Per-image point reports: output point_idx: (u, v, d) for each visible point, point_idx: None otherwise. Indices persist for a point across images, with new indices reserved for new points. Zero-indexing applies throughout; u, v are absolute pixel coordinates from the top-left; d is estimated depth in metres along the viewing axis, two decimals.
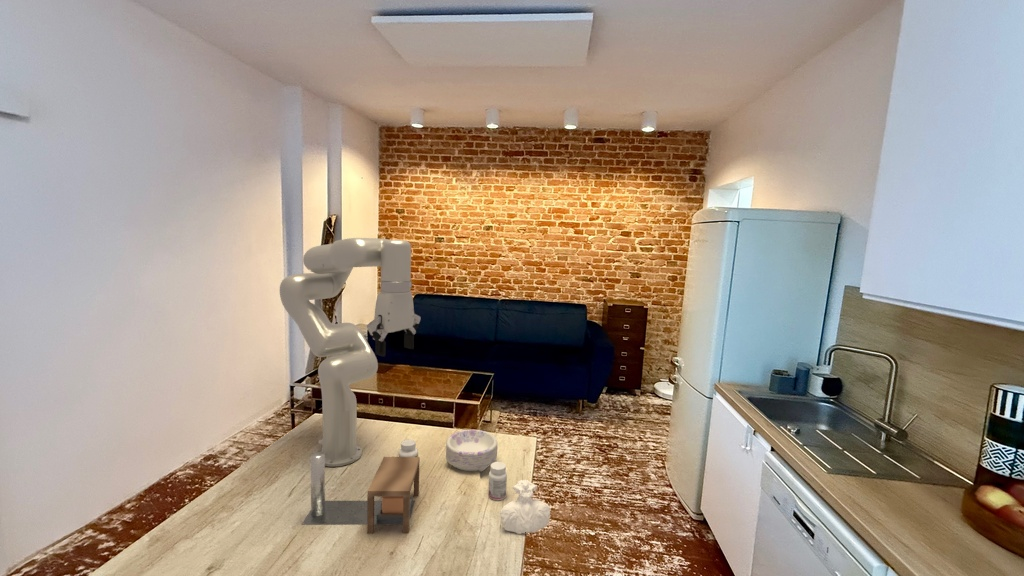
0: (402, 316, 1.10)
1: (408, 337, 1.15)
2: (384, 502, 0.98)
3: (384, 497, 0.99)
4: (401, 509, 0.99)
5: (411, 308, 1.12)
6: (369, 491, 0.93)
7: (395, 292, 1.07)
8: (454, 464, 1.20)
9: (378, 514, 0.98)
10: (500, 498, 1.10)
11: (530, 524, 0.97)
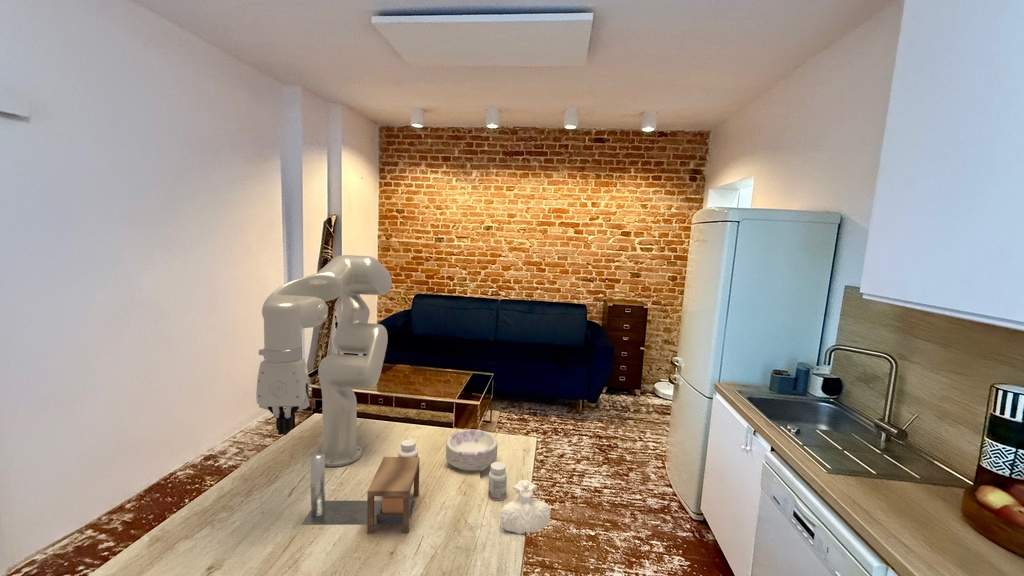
0: None
1: None
2: (384, 502, 0.98)
3: (384, 497, 0.99)
4: (401, 509, 0.99)
5: None
6: (369, 491, 0.93)
7: None
8: (454, 464, 1.20)
9: (378, 514, 0.98)
10: (500, 498, 1.10)
11: (530, 524, 0.97)
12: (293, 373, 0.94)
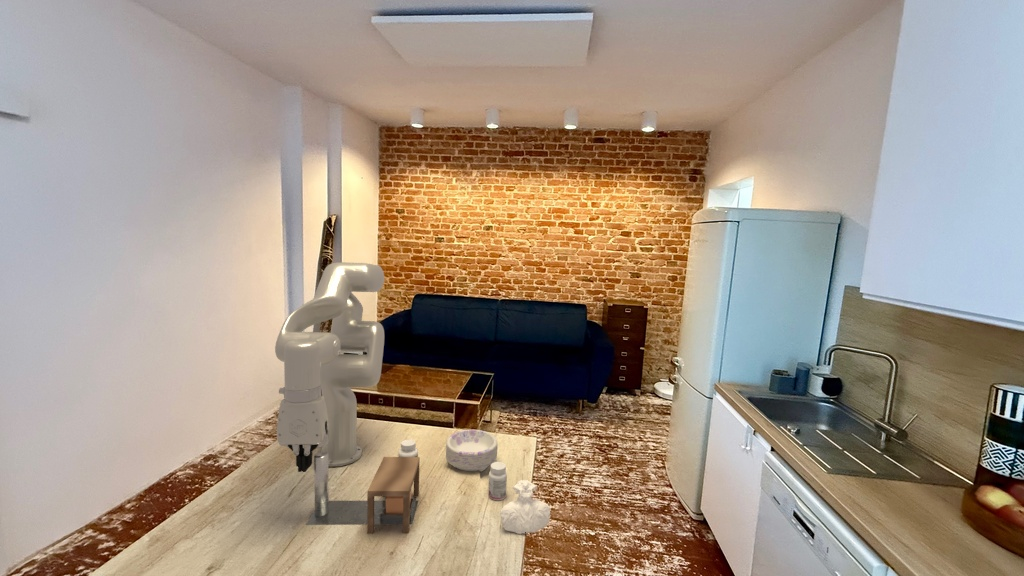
0: None
1: None
2: (388, 502, 0.99)
3: (387, 497, 0.99)
4: None
5: None
6: (369, 491, 0.93)
7: None
8: (454, 464, 1.20)
9: (382, 514, 0.98)
10: (500, 498, 1.10)
11: (530, 524, 0.97)
12: (313, 412, 0.95)
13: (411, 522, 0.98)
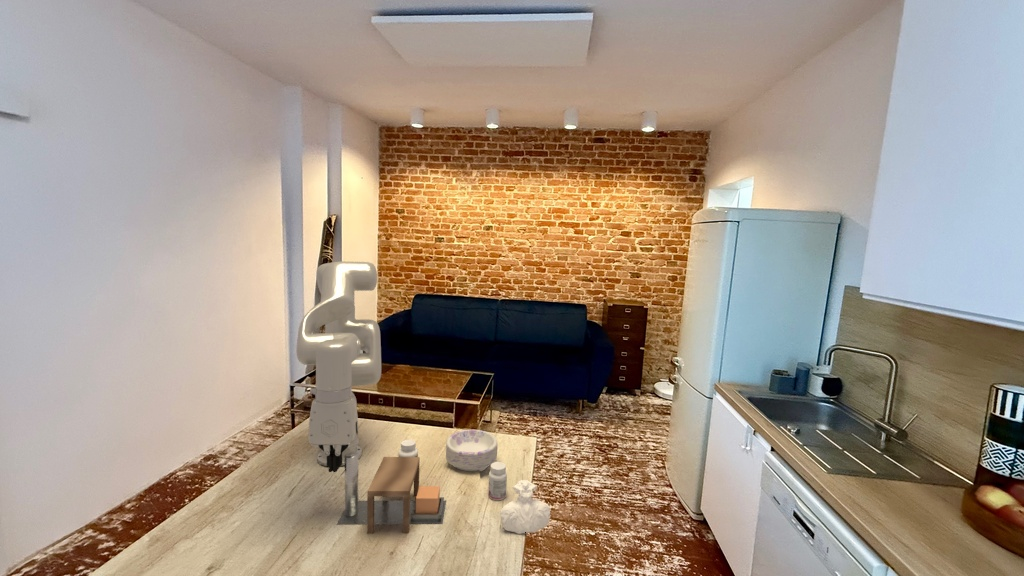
0: None
1: None
2: (418, 502, 0.99)
3: (417, 497, 0.99)
4: (435, 509, 0.99)
5: None
6: (369, 491, 0.93)
7: None
8: (454, 464, 1.20)
9: (412, 514, 0.99)
10: (500, 498, 1.10)
11: (530, 524, 0.97)
12: (344, 413, 0.96)
13: (441, 522, 0.98)
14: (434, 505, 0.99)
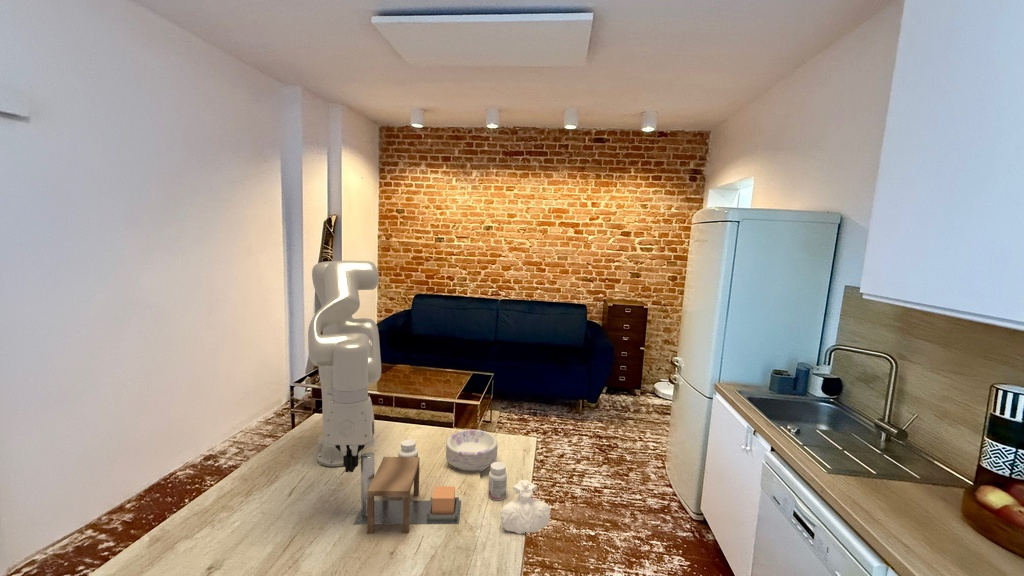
0: None
1: None
2: (434, 502, 0.99)
3: (434, 497, 0.99)
4: (451, 509, 1.00)
5: None
6: (369, 491, 0.93)
7: None
8: (454, 464, 1.20)
9: (428, 514, 0.99)
10: (500, 498, 1.10)
11: (530, 524, 0.97)
12: (361, 413, 0.96)
13: (457, 522, 0.99)
14: (450, 505, 1.00)
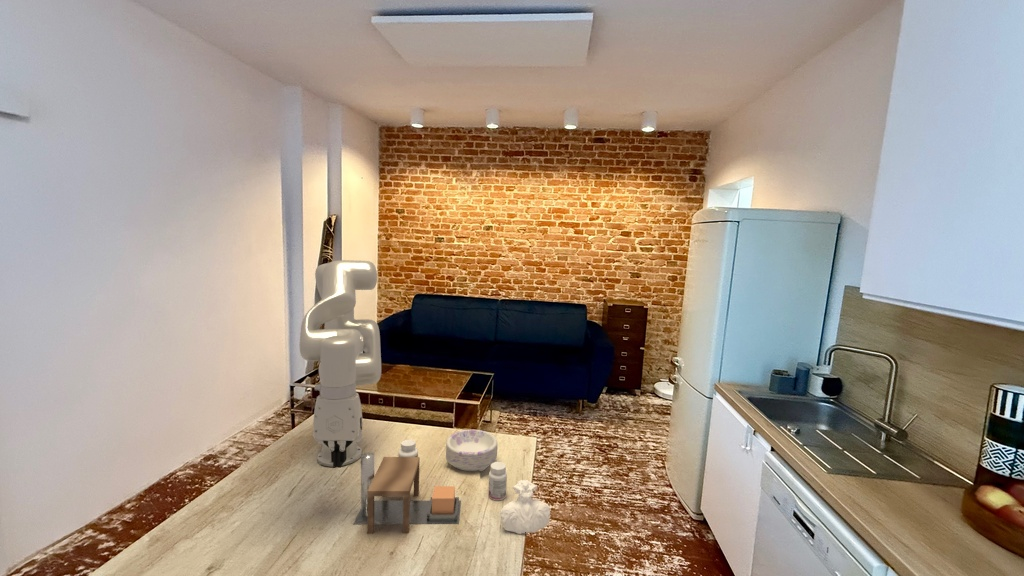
0: None
1: None
2: (434, 502, 0.99)
3: (434, 497, 0.99)
4: (451, 509, 1.00)
5: None
6: (369, 491, 0.93)
7: None
8: (454, 464, 1.20)
9: (428, 514, 0.99)
10: (500, 498, 1.10)
11: (530, 524, 0.97)
12: (349, 409, 0.96)
13: (457, 522, 0.99)
14: (450, 505, 1.00)
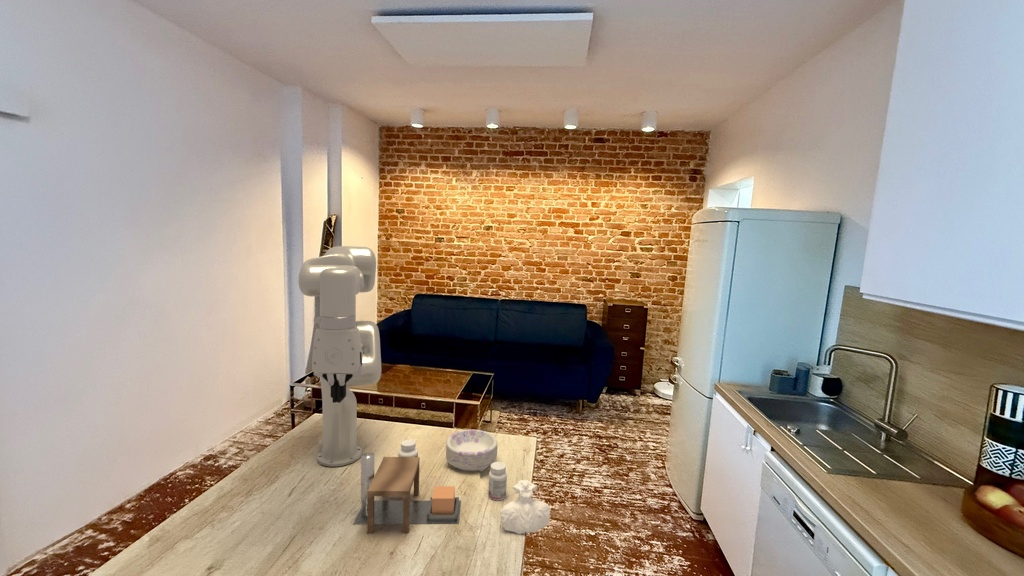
0: None
1: None
2: (434, 502, 0.99)
3: (434, 497, 0.99)
4: (451, 509, 1.00)
5: None
6: (369, 491, 0.93)
7: None
8: (454, 464, 1.20)
9: (428, 514, 0.99)
10: (500, 498, 1.10)
11: (530, 524, 0.97)
12: (349, 341, 0.94)
13: (457, 522, 0.99)
14: (450, 505, 1.00)
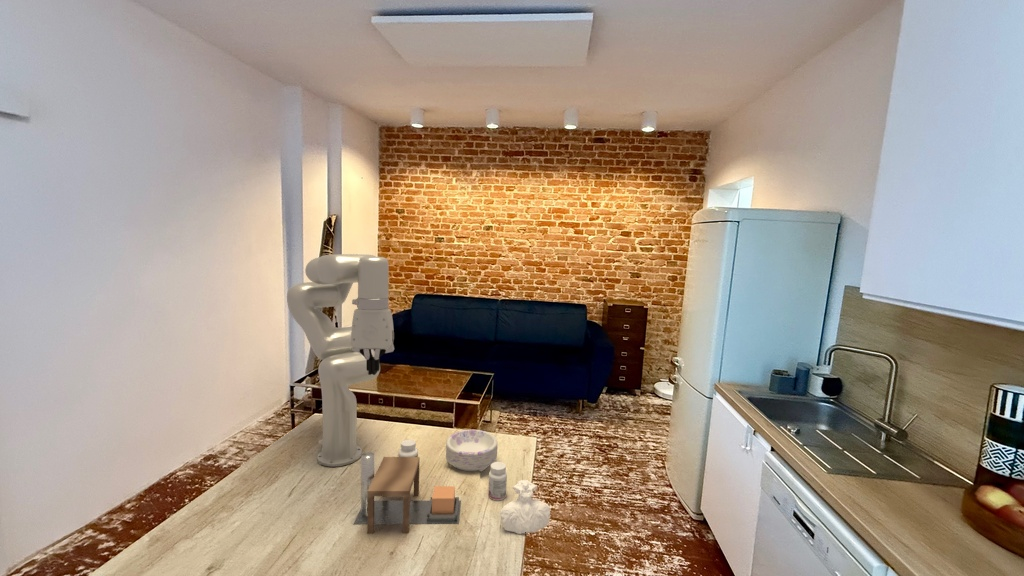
0: None
1: None
2: (434, 502, 0.99)
3: (434, 497, 0.99)
4: (451, 509, 1.00)
5: None
6: (369, 491, 0.93)
7: None
8: (454, 464, 1.20)
9: (428, 514, 0.99)
10: (500, 498, 1.10)
11: (530, 524, 0.97)
12: (383, 320, 1.08)
13: (457, 522, 0.99)
14: (450, 505, 1.00)
